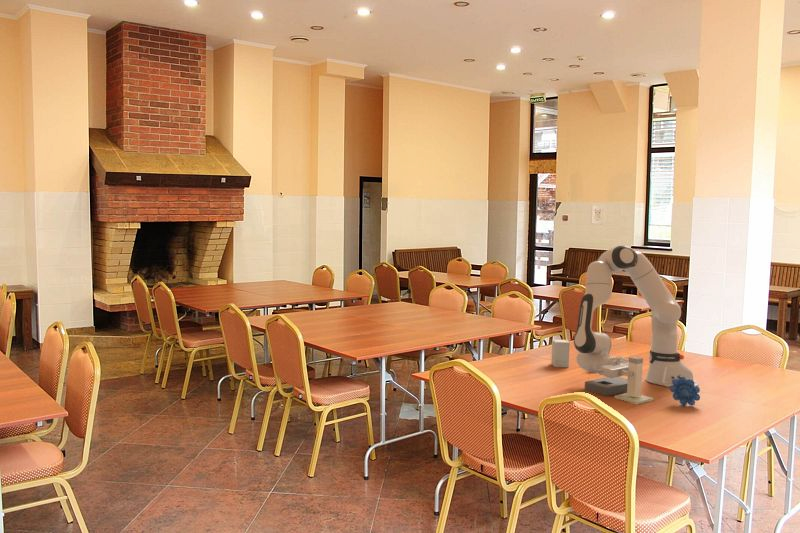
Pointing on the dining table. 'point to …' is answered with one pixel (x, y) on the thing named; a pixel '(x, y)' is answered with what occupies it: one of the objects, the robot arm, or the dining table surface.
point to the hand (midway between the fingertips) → (636, 373)
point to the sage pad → (634, 398)
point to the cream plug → (635, 376)
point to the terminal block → (607, 385)
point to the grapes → (685, 391)
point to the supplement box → (560, 353)
